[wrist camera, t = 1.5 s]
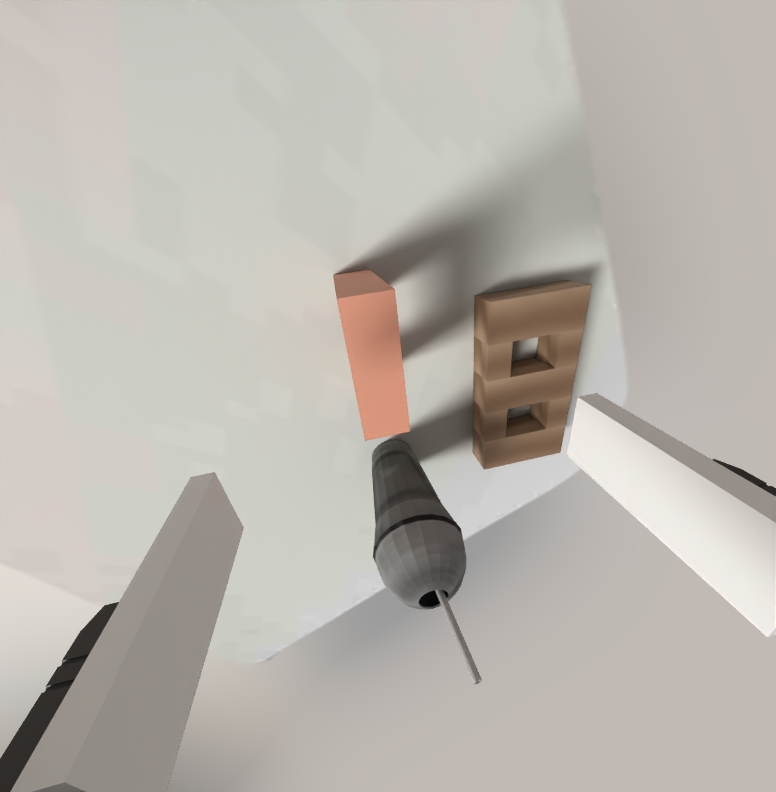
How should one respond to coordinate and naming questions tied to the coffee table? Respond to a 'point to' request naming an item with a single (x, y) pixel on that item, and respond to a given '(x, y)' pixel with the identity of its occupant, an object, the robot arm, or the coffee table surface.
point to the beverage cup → (416, 538)
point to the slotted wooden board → (525, 369)
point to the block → (373, 351)
